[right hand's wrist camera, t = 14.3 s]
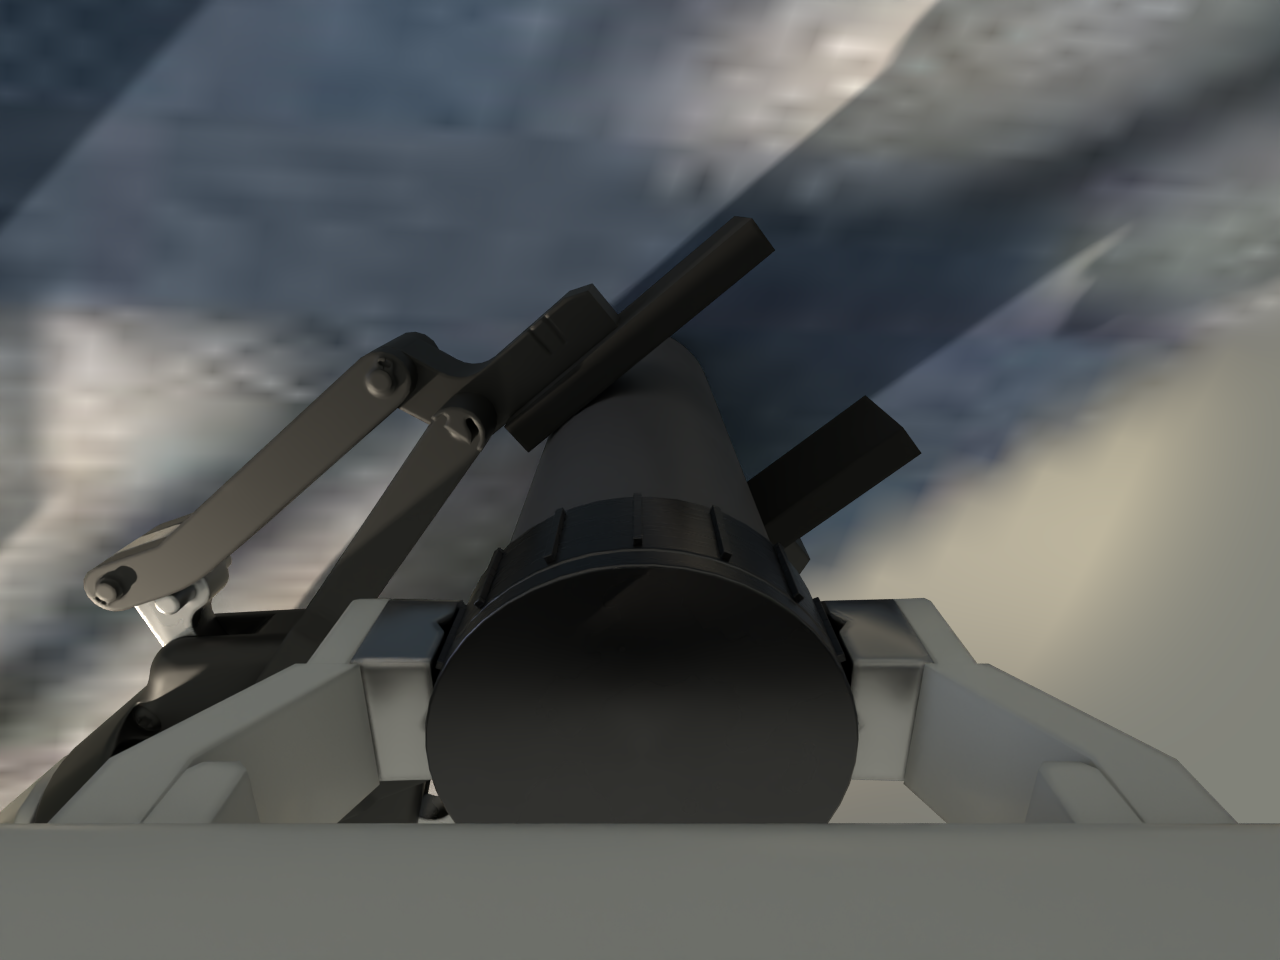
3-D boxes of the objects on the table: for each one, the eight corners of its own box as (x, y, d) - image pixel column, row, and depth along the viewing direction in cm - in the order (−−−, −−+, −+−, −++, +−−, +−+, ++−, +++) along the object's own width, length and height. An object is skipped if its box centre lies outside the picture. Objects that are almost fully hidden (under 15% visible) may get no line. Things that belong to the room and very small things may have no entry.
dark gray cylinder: (577, 474, 24) (494, 870, 10) (556, 338, 22) (419, 580, 8) (714, 460, 24) (828, 842, 10) (704, 322, 22) (823, 540, 8)
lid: (690, 845, 11) (699, 962, 10) (395, 705, 10) (347, 808, 9) (899, 612, 10) (956, 701, 8) (577, 417, 9) (563, 472, 7)
